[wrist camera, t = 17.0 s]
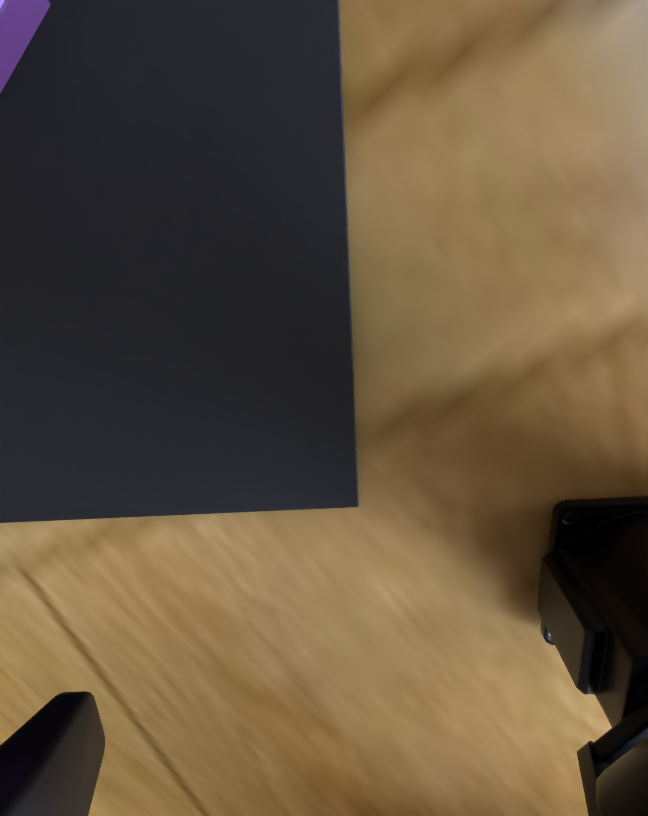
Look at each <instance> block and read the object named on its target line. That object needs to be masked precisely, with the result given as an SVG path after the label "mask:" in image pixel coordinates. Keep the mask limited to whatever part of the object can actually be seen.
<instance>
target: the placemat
mask: <svg viewBox="0 0 648 816" xmlns="http://www.w3.org/2000/svg"><path fill="white" fill-rule="evenodd" d="M48 1H49V2H50V7H49V9H48V10H47V12H46V14H45V16H44V18H43V19H42V21H41V23H40V25H39V26H38V28H37V30H36V32H35V33H34V35H33V37H32V39H31V40H30V42H29V44H28V46H27V48H26V49H25V51H24V53H23V55H22V56H21V58H20V60H19V62H18V63H17V65H16V67H15V69H14V71H13V72H12V74H11V76H10V78H9V79H8V81H7V83H6V85H5V86H4V88H3V90H2V92H1V93H0V523H7V522H29V521H52V520H75V519H97V518H120V517H142V516H165V515H187V514H210V513H232V512H255V511H278V510H300V509H323V508H345V507H358V506H359V500H358V475H357V450H356V424H355V399H354V374H353V348H352V323H351V298H350V272H349V247H348V222H347V196H346V171H345V146H344V120H343V95H342V70H341V44H340V19H339V0H48Z"/></svg>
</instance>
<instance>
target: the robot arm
mask: <svg viewBox="0 0 648 816" xmlns="http://www.w3.org/2000/svg"><path fill="white" fill-rule="evenodd" d="M570 511H572V515H570V516H569V517H566V518H564V515H565V514H566V513H567V512H570ZM537 609H538V612H539V614H540V616H541V618H542V620H541V633H542V635H543V637H544V639H545V641H546V642H547V643H549V644H551V645H555V646H556V648H557V650H558V652H559V654H560V656H561V658H562V660H563V662H564V664H565V666H566V667H567V669H568V671H569V673H570V675H571V677H572V679H573V681H574V683H575V685H576V687H577V688H578V689H579V690H580V691H581V692H582V693H583V694H595V696H596V698H597V699H598V701H599V703H600V705H601V707H602V709H603V711H604V713H605V715H606V716H607V718H608V720H609V722H610V724H611V726H612V728H611V729H610V730H609V731H608V732H606V733H605V734H604V735H603V736H601V737H600V738H599V739H598V740H596V741H595V742H592V741H589V742H588V743H587V744H586V745H584V746H583V747H582V748H581V749H579V750H578V751H577V756H578V761H579V766H580V772H581V777H582V782H583V788H584V793H585V798H586V804H587V809H588V815H589V816H648V496H646V497H624V498H601V499H578V500H565V501H561V502H560V503H558V504H557V505H556V506H555V507H554V509H553V512H552V522H551V532H550V541H549V551H548V553H546V554H545V555H544V557H543V558H542V563H541V573H540V583H539V594H538V604H537ZM104 749H105V735H104V731H103V727H102V723H101V720H100V716H99V712H98V709H97V705H96V701H95V698H94V696H93V695H92V694H91V693H90V692H87V691H85V692H64V693H60V694H58V695H57V696H55V697H54V698H53V699H52V700H50V701H49V702H48V703H47V704H46V705H45V706H44V707H43V708H42V709H40V710H39V711H38V712H37V713H36V714H35V715H34V716H33V717H32V718H30V719H29V720H28V721H27V722H26V723H25V724H24V725H23V726H22V727H20V728H19V729H18V730H17V731H16V732H15V733H14V734H13V735H11V736H10V737H9V738H8V739H7V740H6V741H5V742H4V743H3V744H1V745H0V816H88V814H89V810H90V806H91V802H92V798H93V794H94V790H95V786H96V783H97V779H98V775H99V771H100V767H101V763H102V759H103V755H104Z"/></svg>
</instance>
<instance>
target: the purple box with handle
mask: <svg viewBox="0 0 648 816" xmlns="http://www.w3.org/2000/svg"><path fill="white" fill-rule="evenodd" d="M49 7H50V2H49V1H48V0H0V93H1V92H2V90H3V88H4V86H5V85H6V83H7V81H8V79H9V78H10V76H11V74H12V72H13V71H14V69H15V67H16V65H17V63H18V62H19V60H20V58H21V56H22V55H23V53H24V51H25V49H26V48H27V46H28V44H29V42H30V40H31V39H32V37H33V35H34V33H35V32H36V30H37V28H38V26H39V25H40V23H41V21H42V19H43V18H44V16H45V14H46V12H47V10H48V9H49Z"/></svg>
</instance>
